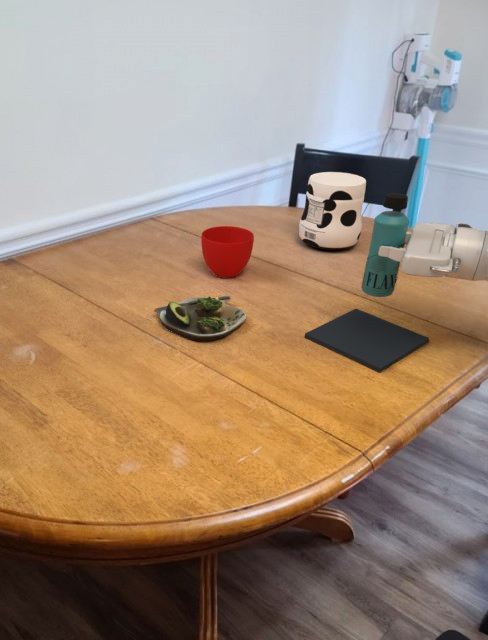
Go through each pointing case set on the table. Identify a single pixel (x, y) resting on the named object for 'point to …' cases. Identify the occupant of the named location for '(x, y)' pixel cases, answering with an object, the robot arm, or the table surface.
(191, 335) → the salad plate
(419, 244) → the robot arm
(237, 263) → the ceramic cup
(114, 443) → the table surface
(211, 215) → the table surface
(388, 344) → the mat
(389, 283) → the beverage bottle
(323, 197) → the milk container
